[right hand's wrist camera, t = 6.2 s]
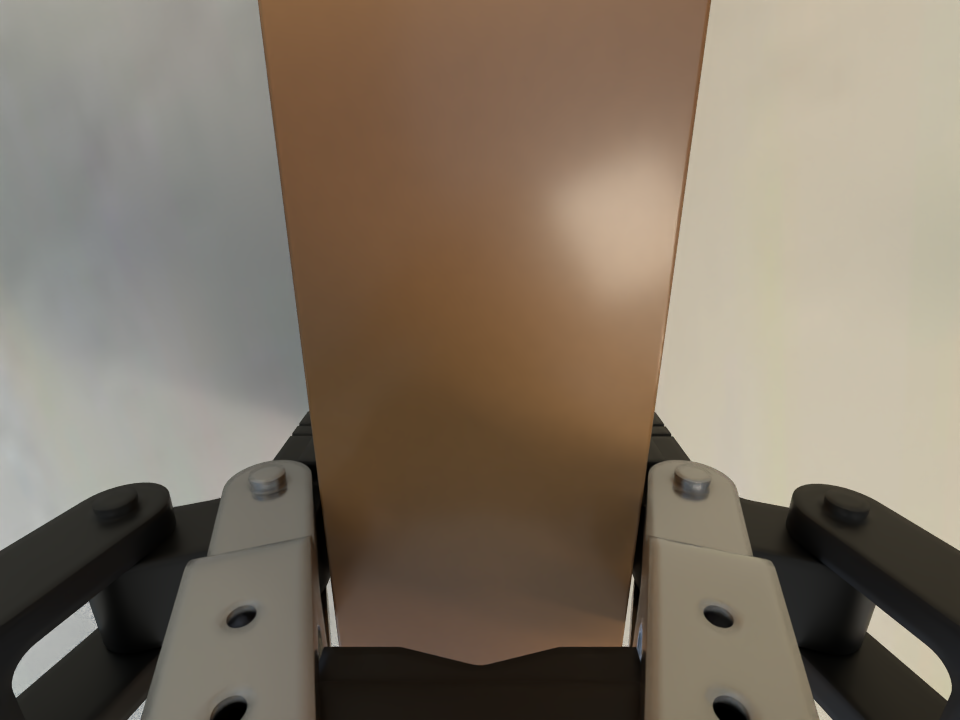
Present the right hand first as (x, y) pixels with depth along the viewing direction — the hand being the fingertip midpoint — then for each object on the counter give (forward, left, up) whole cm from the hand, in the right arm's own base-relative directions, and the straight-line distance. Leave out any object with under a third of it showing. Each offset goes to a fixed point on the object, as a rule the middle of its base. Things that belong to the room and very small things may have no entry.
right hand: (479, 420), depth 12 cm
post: (+6, -20, -4) cm, 21 cm away
